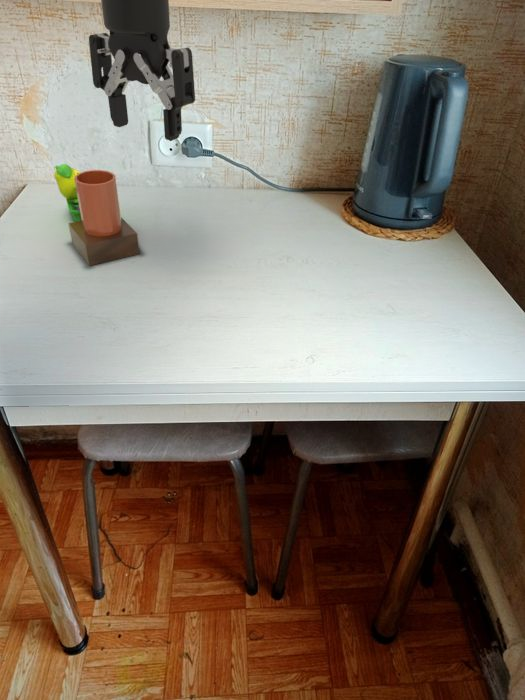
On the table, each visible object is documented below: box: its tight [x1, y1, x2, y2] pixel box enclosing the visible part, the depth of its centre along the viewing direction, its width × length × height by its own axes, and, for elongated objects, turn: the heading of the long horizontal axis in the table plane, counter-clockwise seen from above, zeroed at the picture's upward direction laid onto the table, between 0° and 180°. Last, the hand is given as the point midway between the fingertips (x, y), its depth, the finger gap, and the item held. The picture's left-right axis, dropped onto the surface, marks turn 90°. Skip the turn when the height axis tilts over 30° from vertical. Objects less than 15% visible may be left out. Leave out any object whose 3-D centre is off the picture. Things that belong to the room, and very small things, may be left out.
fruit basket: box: [53, 163, 82, 222], centre depth 95 cm, size 11×9×11 cm
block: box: [68, 216, 140, 267], centre depth 90 cm, size 9×9×4 cm
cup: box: [74, 169, 122, 237], centre depth 86 cm, size 6×6×9 cm
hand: (146, 132), depth 67 cm, fingers open, 8 cm apart
